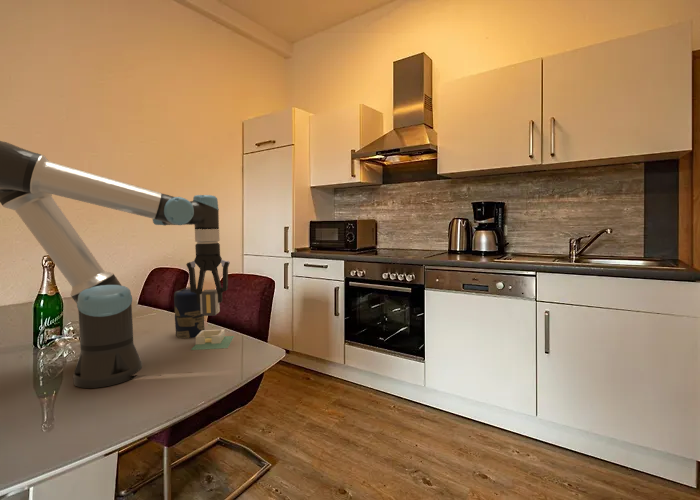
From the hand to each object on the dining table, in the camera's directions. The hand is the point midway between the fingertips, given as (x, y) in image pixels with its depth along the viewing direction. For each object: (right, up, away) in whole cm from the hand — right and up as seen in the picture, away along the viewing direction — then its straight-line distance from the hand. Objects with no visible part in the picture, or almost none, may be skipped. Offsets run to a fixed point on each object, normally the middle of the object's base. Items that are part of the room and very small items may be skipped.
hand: (210, 312), depth 123 cm
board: (+2, -11, -2) cm, 11 cm away
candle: (-10, -10, +8) cm, 17 cm away
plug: (0, -1, 0) cm, 1 cm away
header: (0, -9, +1) cm, 9 cm away
